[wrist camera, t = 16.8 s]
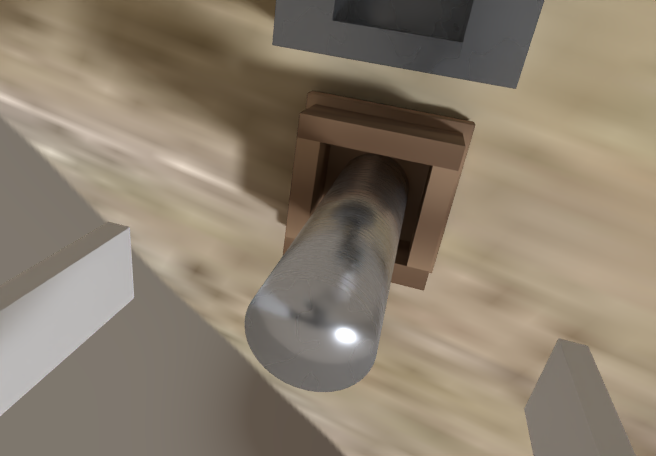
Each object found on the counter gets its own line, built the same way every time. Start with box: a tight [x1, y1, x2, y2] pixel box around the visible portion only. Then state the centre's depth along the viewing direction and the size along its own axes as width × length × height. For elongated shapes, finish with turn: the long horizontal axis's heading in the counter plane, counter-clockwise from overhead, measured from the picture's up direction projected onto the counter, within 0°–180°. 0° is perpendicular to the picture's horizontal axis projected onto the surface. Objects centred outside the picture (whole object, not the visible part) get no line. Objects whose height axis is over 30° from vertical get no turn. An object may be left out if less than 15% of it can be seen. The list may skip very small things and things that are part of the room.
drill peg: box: [245, 153, 409, 392], centre depth 19 cm, size 4×4×14 cm
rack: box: [283, 91, 475, 290], centre depth 25 cm, size 9×9×4 cm
